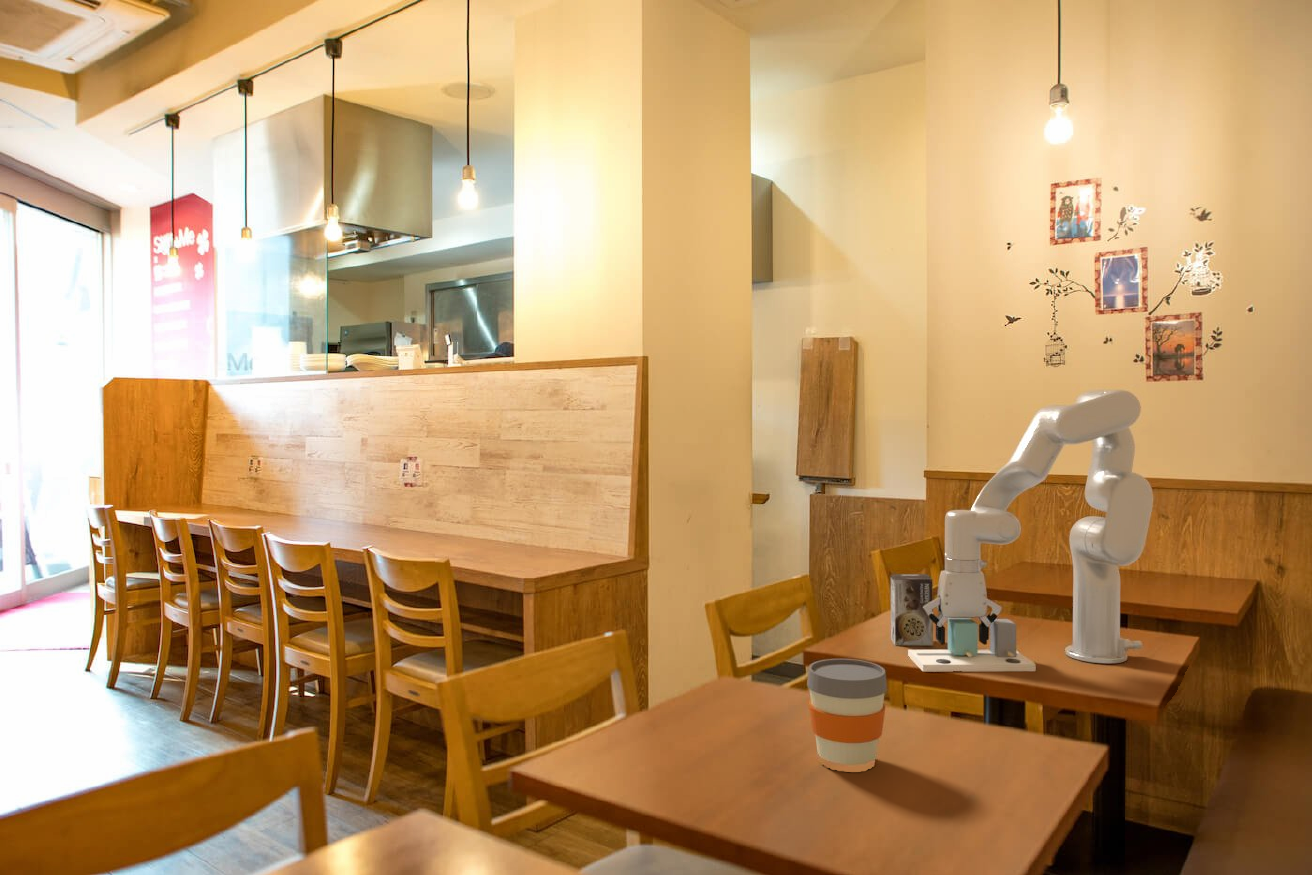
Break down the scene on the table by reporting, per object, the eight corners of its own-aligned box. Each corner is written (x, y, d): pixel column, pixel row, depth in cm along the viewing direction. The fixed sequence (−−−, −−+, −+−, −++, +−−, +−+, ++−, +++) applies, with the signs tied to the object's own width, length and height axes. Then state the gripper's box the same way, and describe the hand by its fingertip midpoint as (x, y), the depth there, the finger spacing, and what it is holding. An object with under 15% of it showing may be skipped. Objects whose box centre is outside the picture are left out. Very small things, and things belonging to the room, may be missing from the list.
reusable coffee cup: (792, 753, 149) (792, 662, 148) (858, 742, 153) (858, 655, 153) (833, 782, 137) (833, 684, 136) (903, 770, 141) (903, 675, 141)
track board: (1014, 655, 205) (1014, 617, 205) (1035, 671, 193) (1035, 630, 193) (908, 656, 206) (908, 617, 205) (922, 671, 194) (923, 630, 193)
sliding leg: (969, 648, 204) (970, 618, 204) (981, 658, 196) (981, 626, 196) (947, 649, 204) (947, 618, 204) (958, 658, 196) (958, 626, 196)
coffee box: (928, 639, 220) (928, 573, 220) (933, 646, 214) (933, 578, 213) (890, 638, 221) (890, 573, 221) (894, 645, 215) (894, 578, 214)
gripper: (995, 562, 204) (995, 638, 205) (918, 563, 205) (918, 638, 205) (1008, 568, 197) (1007, 647, 198) (928, 569, 197) (927, 647, 198)
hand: (962, 642), depth 201 cm, fingers open, 8 cm apart
